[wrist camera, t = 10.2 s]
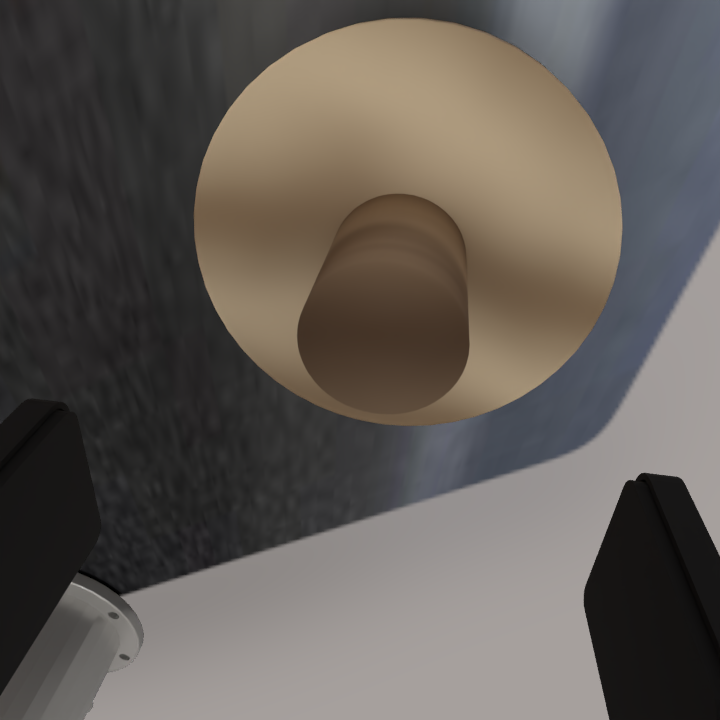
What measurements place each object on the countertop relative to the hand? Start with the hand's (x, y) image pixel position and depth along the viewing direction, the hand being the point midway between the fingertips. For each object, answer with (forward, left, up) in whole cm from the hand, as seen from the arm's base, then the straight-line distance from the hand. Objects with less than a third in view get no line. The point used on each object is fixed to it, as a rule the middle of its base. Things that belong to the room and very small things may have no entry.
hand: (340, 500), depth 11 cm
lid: (0, 0, -10) cm, 10 cm away
